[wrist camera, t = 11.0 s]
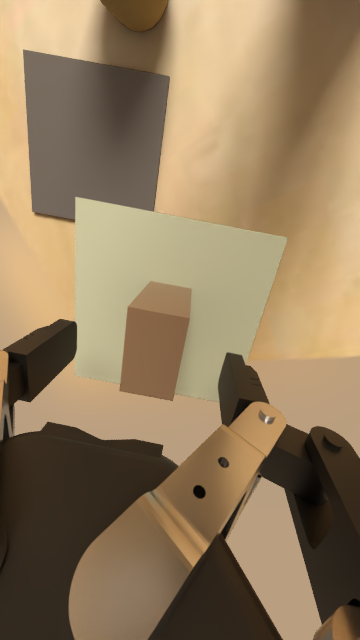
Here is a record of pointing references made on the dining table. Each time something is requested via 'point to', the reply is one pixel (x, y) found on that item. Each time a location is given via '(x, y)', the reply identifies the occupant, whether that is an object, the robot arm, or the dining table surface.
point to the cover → (166, 297)
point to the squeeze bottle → (136, 12)
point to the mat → (92, 133)
